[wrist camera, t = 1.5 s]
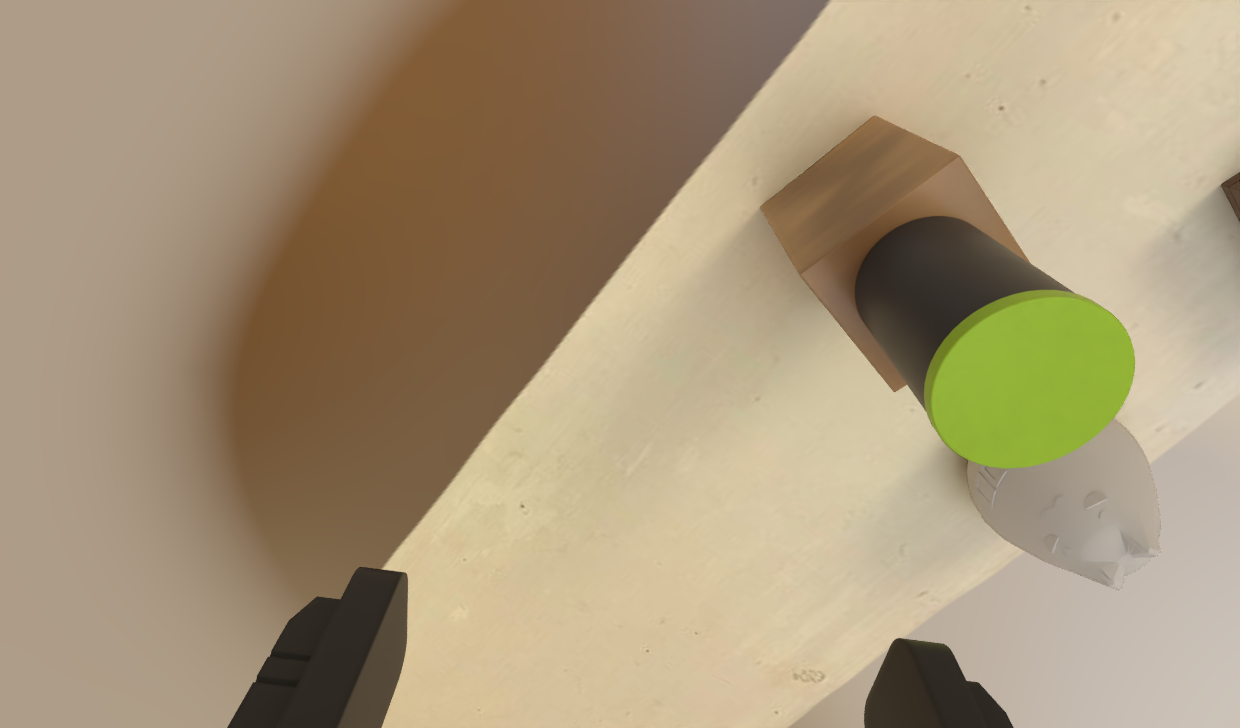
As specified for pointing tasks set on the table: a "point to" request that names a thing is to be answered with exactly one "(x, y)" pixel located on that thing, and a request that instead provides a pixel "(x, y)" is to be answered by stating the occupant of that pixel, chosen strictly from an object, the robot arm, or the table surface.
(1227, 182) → the bin
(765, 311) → the table surface
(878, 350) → the stand
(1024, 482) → the toy character
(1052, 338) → the ball tube
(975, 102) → the table surface
